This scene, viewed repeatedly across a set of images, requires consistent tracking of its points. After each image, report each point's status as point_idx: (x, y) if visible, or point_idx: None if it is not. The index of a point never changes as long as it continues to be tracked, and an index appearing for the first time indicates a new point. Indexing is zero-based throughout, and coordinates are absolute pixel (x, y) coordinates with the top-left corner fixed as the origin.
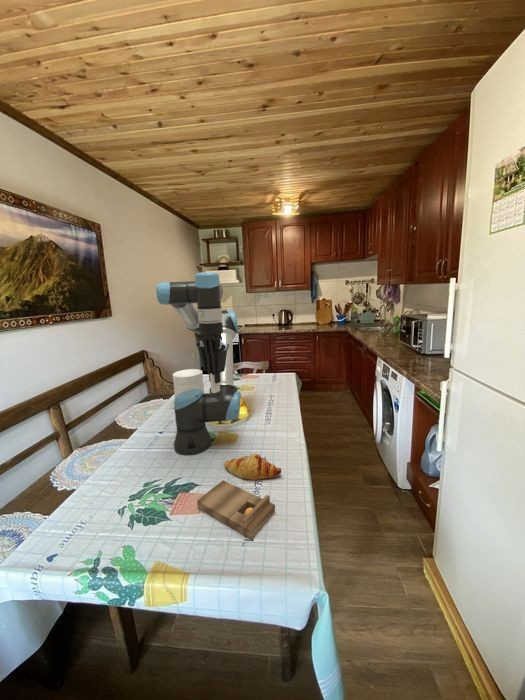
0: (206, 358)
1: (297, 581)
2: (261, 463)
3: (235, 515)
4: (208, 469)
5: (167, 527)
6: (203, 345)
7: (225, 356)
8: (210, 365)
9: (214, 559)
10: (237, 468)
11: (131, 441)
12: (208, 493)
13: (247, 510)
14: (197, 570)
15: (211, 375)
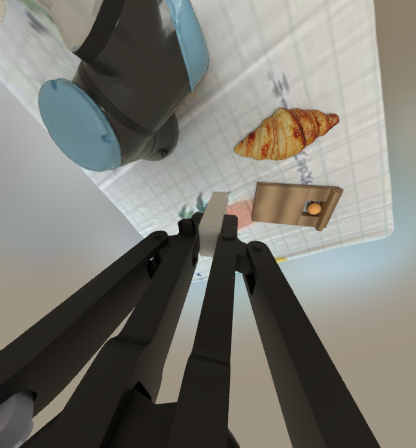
0: (127, 292)
1: (374, 237)
2: (305, 136)
3: (301, 220)
4: (217, 164)
5: (242, 240)
6: (17, 435)
7: (321, 357)
8: (189, 279)
9: (297, 245)
10: (265, 157)
11: (84, 171)
12: (256, 209)
13: (313, 212)
14: (289, 254)
15: (209, 252)
